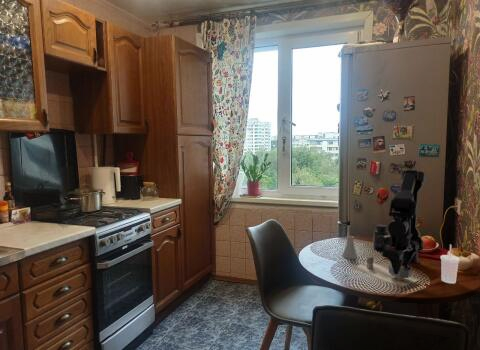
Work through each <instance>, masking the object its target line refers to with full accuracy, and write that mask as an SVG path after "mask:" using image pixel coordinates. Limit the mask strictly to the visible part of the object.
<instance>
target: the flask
mask: <svg viewBox="0 0 480 350" xmlns="http://www.w3.org/2000/svg"><path fill="white" fill-rule="evenodd" d="M346 239H347V240H346V245H345V248H344V250H343V252H342V255H341V257H343V259H347V260H354V259H356V260H357V259H358V253H357V251H356V248H355V244H354V239H355V237H354V235H353V236H352V235H347V236H346Z"/></svg>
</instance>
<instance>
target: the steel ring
mask: <svg viewBox="0 0 480 350" xmlns="http://www.w3.org/2000/svg"><path fill="white" fill-rule="evenodd" d="M401 267H403V268H404V270H399V272H398V274H394V271H393V268H392V265H391V264H390V265H389V266H388V268H389V273H390V274H391V275H392V276H396V277H399V278H409V277H410V276H412V268H411V267H410V266H409V265H408V266H406V265H401Z"/></svg>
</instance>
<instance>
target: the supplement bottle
mask: <svg viewBox="0 0 480 350" xmlns="http://www.w3.org/2000/svg"><path fill="white" fill-rule="evenodd" d="M381 235H383V236H386V235H390V233H389V231H388V226H387V225H386V224H383V223H382V224H376V225H375V230H374V231H373V240H372V241H373V244H372V245H373V246H372V247H373V250H375V251H376V252H381V253H382V251H383V250H384V249H386V248H388V247H390V246H389V245H383V246H379V245H378V244H377V243H376V239H377V236H381Z"/></svg>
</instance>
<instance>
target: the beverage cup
mask: <svg viewBox="0 0 480 350" xmlns="http://www.w3.org/2000/svg"><path fill="white" fill-rule="evenodd" d="M439 258H440V260H441V261H440V262H441V263H440V264H441V265H440V266H441V267H440V269H441V270H440V271H441V272H440V273H441V274H440V276H441V279H440V280H441V282H444V283H447V284H456V282H457V277H458V276H457V275H458V268H459V263H460V260H461V259H460V258H459V257H457V256H456V255H455V256H454V255H452V244H449V254H442V255H440V257H439Z"/></svg>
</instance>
